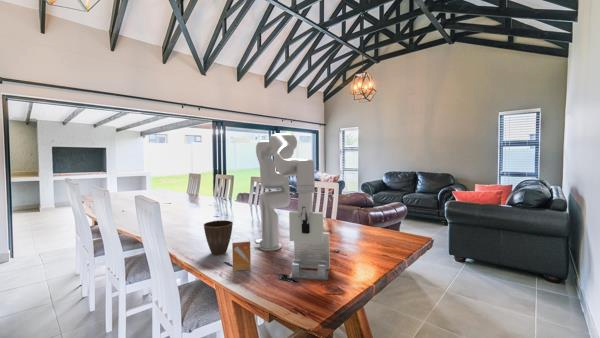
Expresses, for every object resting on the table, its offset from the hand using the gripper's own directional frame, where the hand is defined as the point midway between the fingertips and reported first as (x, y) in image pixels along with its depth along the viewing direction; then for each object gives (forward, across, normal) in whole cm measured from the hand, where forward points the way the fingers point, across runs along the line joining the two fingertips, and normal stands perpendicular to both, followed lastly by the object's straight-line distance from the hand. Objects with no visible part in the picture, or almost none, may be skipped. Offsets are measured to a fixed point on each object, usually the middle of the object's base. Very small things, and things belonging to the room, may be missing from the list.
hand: (306, 231), depth 118 cm
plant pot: (+19, -22, -52) cm, 59 cm away
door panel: (+4, 0, 0) cm, 4 cm away
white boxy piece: (+19, -4, +1) cm, 19 cm away
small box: (+19, -4, -31) cm, 37 cm away
